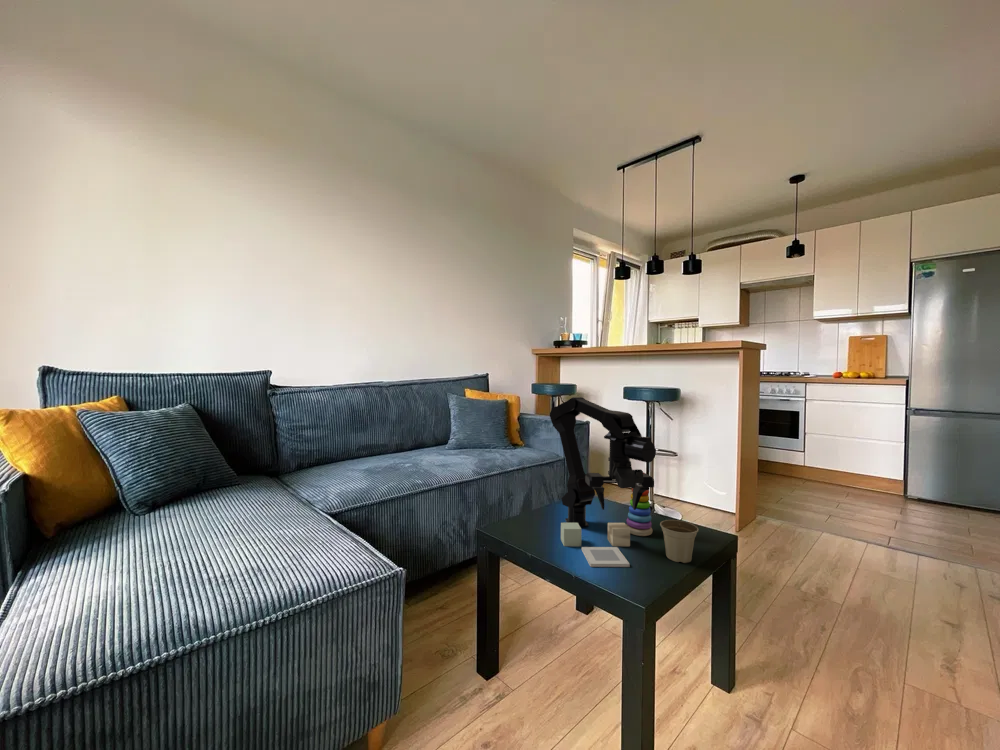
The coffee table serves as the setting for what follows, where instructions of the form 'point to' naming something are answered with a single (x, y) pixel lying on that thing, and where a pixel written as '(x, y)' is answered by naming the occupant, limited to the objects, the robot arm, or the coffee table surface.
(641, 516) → the stacking toy
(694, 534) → the flower pot
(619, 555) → the plate
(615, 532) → the block birch
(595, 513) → the coffee table surface
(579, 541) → the block sage
